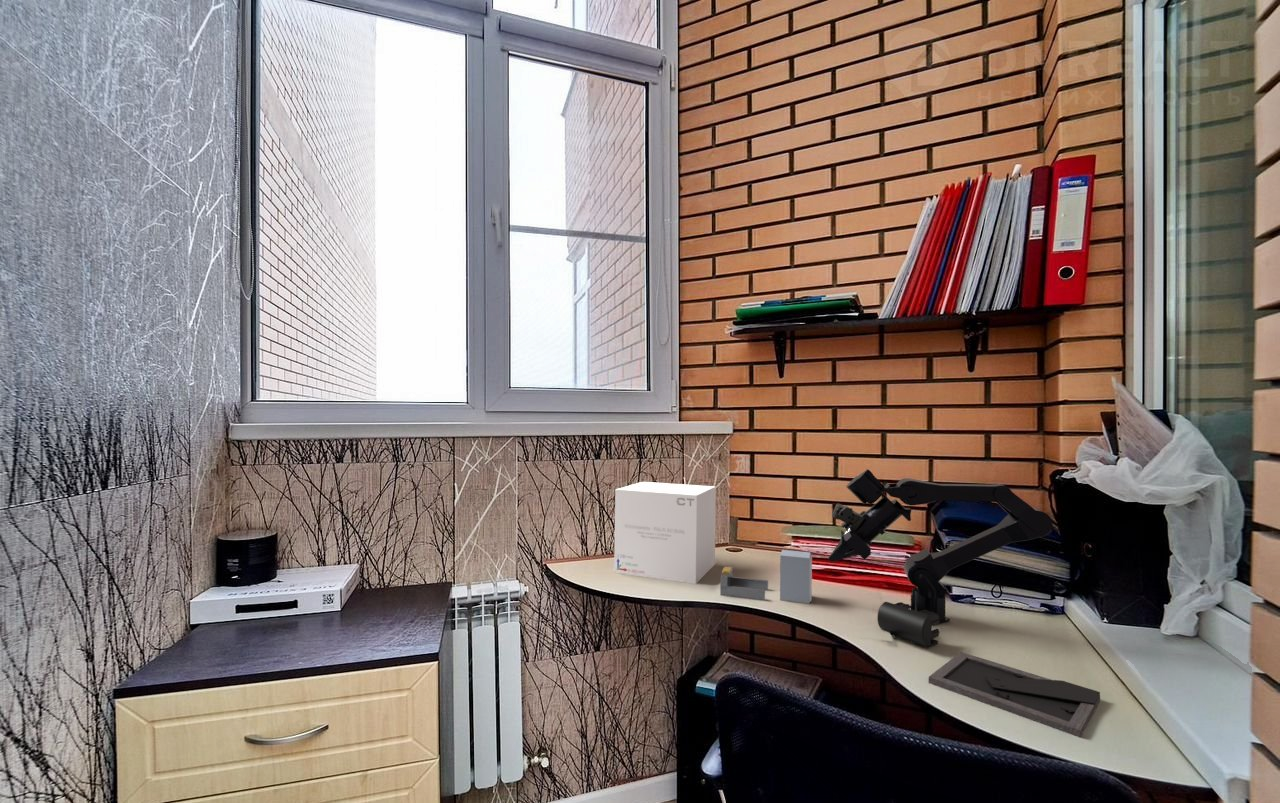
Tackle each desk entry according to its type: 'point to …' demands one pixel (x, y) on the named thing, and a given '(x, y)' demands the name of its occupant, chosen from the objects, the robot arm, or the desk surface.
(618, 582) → the desk surface
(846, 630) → the desk surface
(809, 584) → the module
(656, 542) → the cube
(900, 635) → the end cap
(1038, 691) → the picture frame
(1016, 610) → the desk surface
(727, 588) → the rack deck
